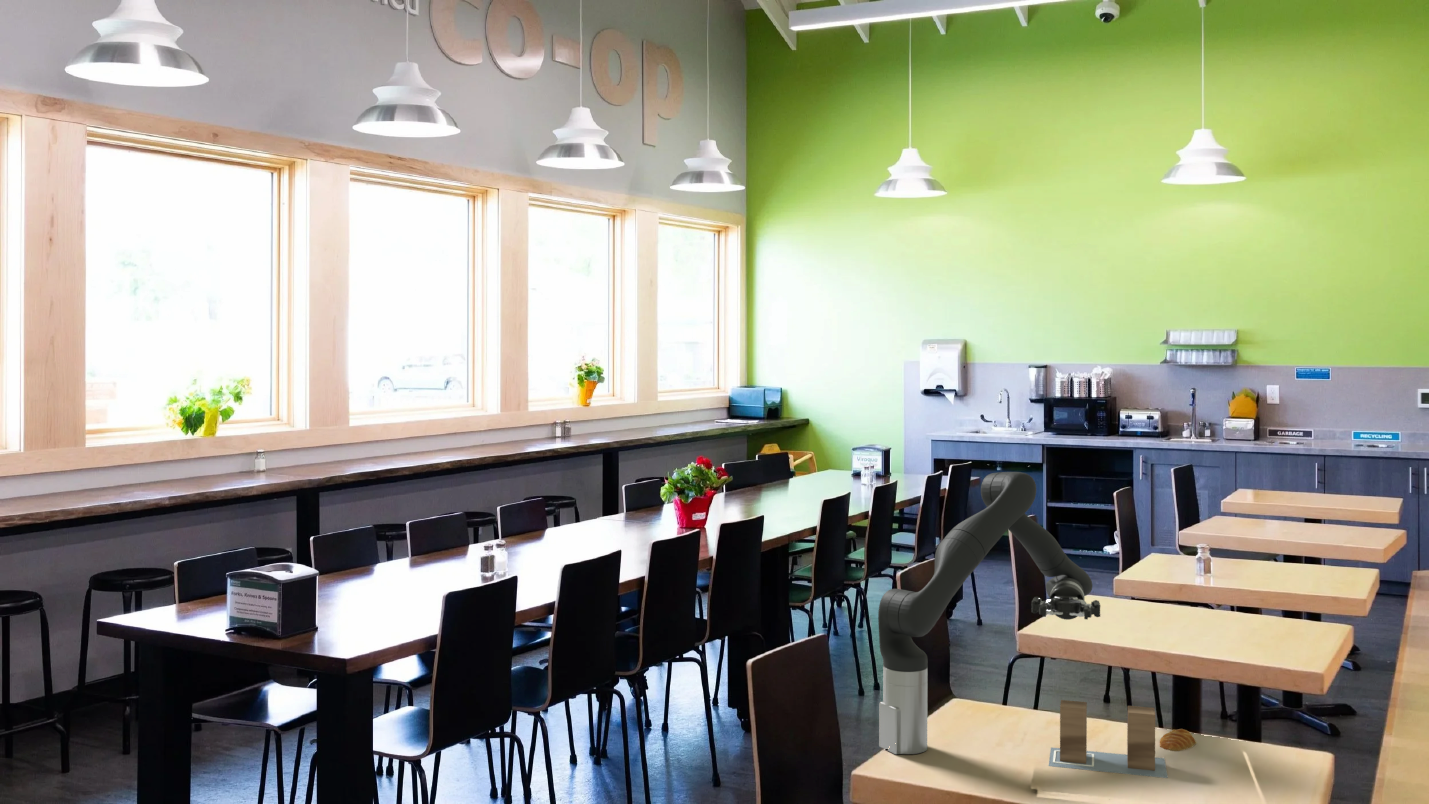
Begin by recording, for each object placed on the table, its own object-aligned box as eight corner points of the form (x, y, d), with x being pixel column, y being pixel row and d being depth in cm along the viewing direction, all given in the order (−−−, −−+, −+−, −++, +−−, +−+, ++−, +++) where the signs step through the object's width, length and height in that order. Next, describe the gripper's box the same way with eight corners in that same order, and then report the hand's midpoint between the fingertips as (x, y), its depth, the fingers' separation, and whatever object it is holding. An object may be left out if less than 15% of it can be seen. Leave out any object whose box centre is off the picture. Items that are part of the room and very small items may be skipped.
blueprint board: (1167, 784, 221) (1167, 777, 221) (1048, 771, 228) (1048, 765, 228) (1164, 764, 233) (1164, 757, 233) (1050, 753, 240) (1050, 746, 240)
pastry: (1185, 760, 236) (1185, 741, 236) (1151, 754, 240) (1151, 735, 240) (1198, 748, 243) (1198, 730, 243) (1166, 742, 247) (1166, 725, 247)
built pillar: (1155, 770, 225) (1155, 714, 225) (1127, 768, 227) (1128, 712, 227) (1153, 762, 230) (1154, 707, 230) (1127, 760, 232) (1127, 705, 231)
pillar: (1086, 763, 229) (1086, 708, 229) (1059, 761, 231) (1060, 706, 231) (1086, 756, 234) (1086, 702, 234) (1060, 753, 236) (1061, 700, 236)
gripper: (1034, 581, 262) (1030, 593, 247) (1100, 584, 258) (1100, 597, 243) (1034, 614, 263) (1030, 628, 247) (1100, 618, 258) (1100, 633, 243)
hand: (1065, 613), depth 245 cm, fingers open, 8 cm apart
